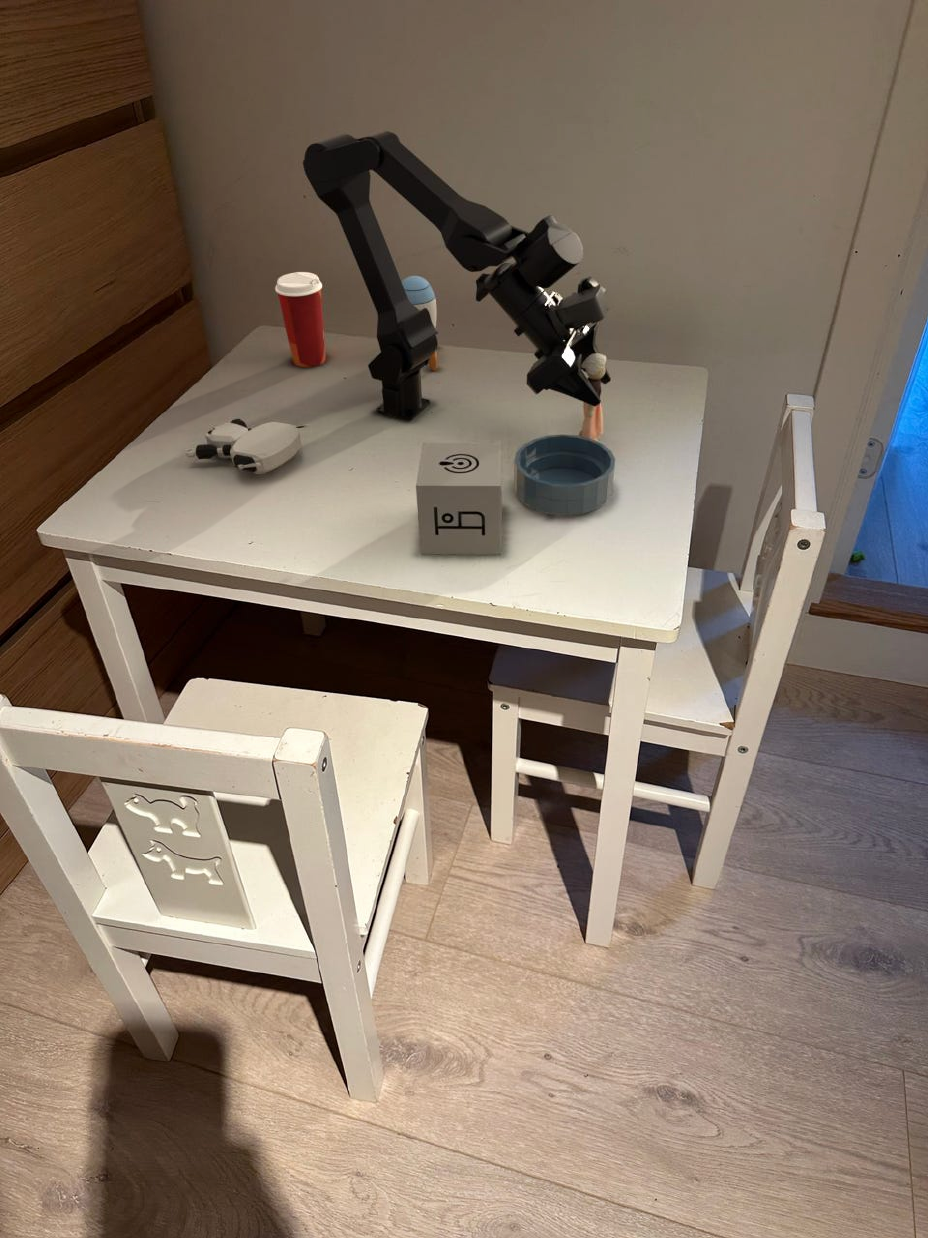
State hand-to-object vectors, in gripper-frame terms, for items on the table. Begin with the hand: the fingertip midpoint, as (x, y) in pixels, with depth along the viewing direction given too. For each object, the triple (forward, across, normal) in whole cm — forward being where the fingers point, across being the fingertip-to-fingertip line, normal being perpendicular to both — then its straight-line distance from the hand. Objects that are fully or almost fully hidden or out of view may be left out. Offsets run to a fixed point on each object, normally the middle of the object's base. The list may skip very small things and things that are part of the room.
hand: (603, 393), depth 122 cm
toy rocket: (-19, +22, +34) cm, 45 cm away
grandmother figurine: (+4, 0, +6) cm, 8 cm away
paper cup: (-31, +17, +46) cm, 58 cm away
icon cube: (-2, -24, +16) cm, 29 cm away
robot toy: (-27, -15, +41) cm, 51 cm away
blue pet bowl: (+5, -11, +8) cm, 15 cm away
